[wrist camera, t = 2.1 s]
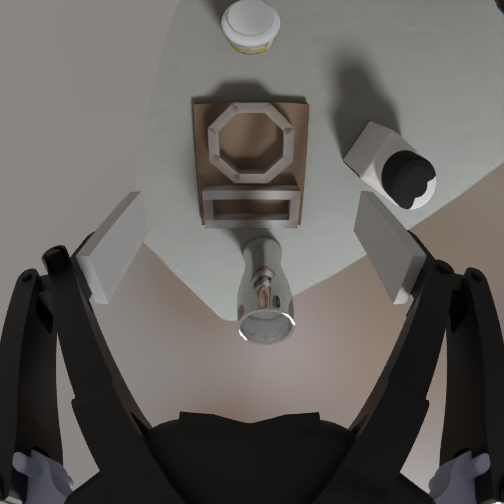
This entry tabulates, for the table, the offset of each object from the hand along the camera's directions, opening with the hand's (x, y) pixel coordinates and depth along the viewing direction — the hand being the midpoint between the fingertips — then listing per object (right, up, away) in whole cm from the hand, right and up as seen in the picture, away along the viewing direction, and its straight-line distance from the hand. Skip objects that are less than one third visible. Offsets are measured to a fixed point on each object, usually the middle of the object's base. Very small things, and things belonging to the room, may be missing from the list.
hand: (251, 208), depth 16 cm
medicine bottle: (+17, +11, +18) cm, 27 cm away
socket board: (0, +9, +19) cm, 21 cm away
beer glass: (+2, -3, +27) cm, 27 cm away
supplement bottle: (0, +23, +9) cm, 25 cm away
